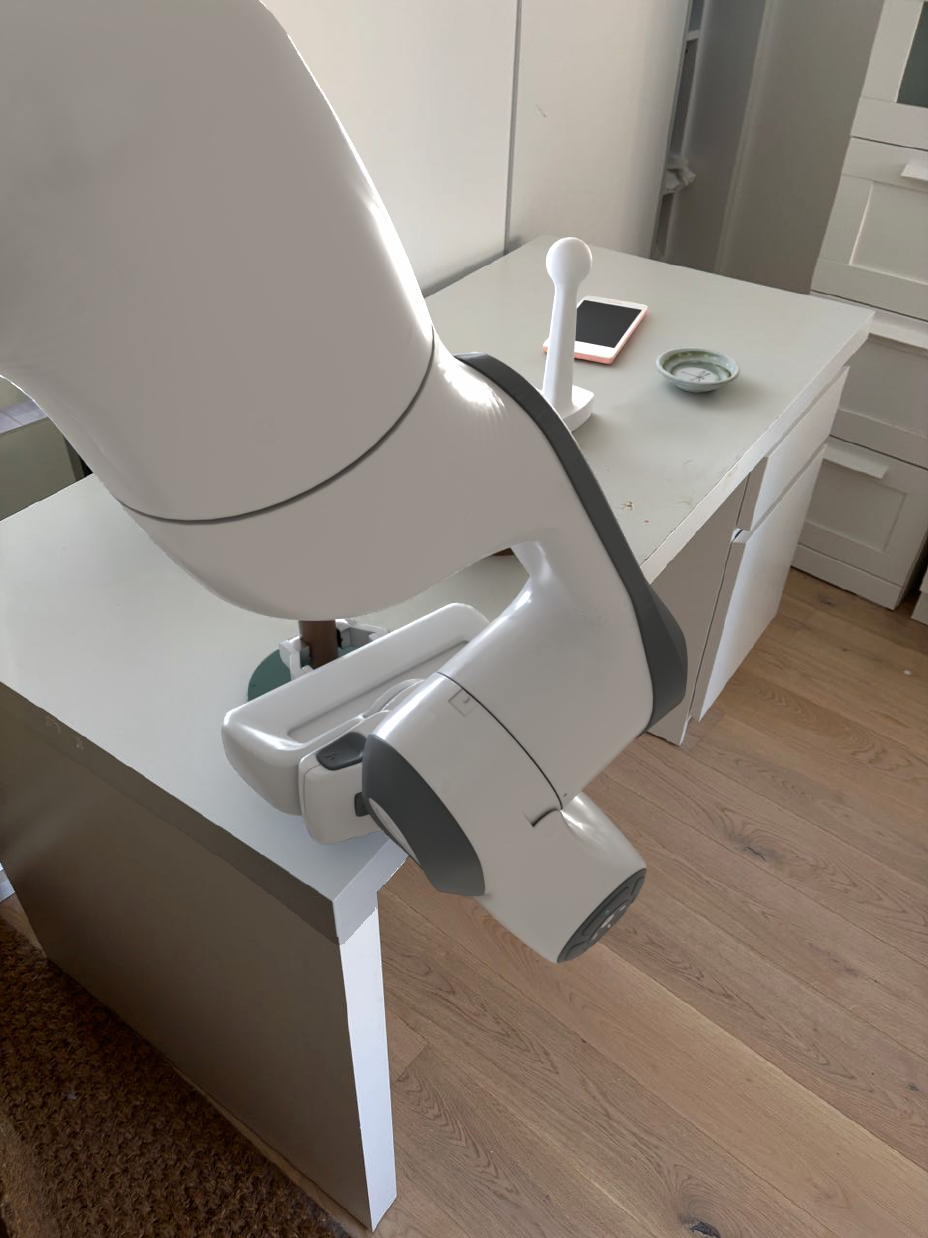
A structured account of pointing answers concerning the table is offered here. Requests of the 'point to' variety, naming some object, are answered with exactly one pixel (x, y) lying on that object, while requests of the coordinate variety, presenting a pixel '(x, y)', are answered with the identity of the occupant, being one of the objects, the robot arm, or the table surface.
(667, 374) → the saucer
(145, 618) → the table surface
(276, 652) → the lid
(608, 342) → the cell phone
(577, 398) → the joystick
